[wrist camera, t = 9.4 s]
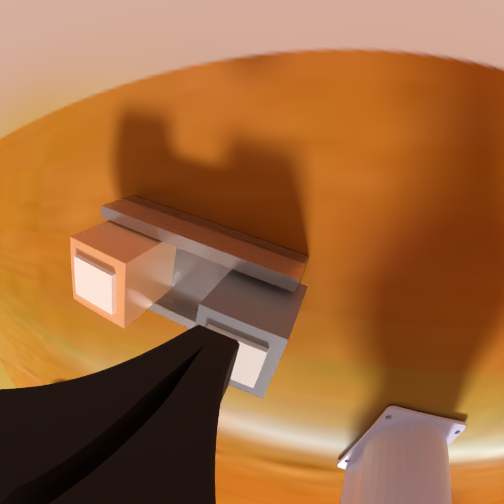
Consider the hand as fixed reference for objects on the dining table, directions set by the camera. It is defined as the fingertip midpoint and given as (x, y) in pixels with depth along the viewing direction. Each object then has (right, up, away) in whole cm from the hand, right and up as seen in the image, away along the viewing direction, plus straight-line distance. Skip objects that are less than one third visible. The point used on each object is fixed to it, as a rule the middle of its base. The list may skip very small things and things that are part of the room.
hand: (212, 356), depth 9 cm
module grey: (+2, 0, +9) cm, 9 cm away
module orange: (-5, +3, +10) cm, 12 cm away
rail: (-2, +2, +11) cm, 11 cm away
